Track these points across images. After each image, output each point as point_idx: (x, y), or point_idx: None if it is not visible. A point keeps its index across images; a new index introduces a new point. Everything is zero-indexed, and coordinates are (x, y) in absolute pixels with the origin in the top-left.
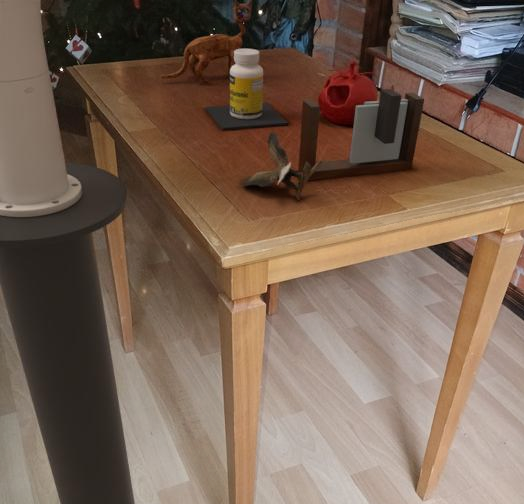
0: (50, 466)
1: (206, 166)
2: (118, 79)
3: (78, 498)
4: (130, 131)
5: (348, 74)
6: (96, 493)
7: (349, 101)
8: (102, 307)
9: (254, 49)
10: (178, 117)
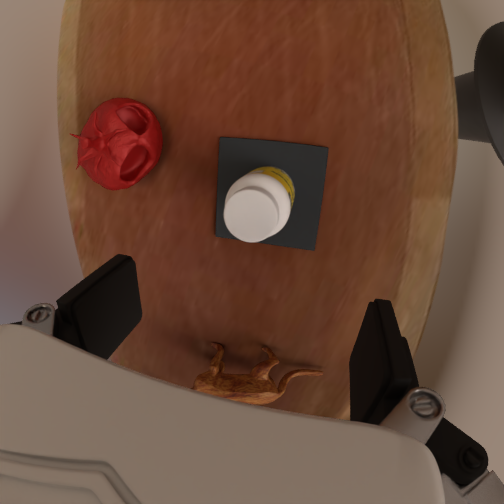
0: None
1: (395, 35)
2: None
3: None
4: (447, 200)
5: (101, 141)
6: None
7: (129, 101)
8: (455, 86)
9: (227, 227)
10: (367, 230)
